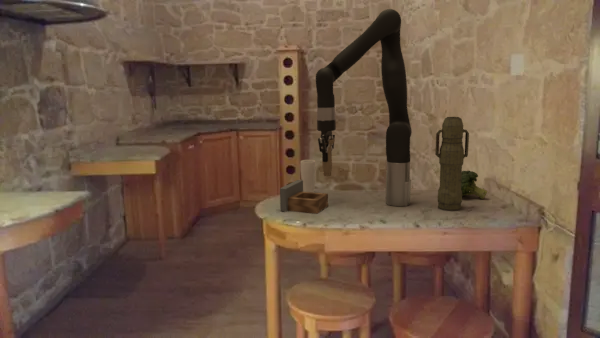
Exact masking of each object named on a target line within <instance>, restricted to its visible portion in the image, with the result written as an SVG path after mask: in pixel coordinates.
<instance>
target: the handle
mask: <svg viewBox="0 0 600 338" xmlns="http://www.w3.org/2000/svg"><path fill="white" fill-rule="evenodd" d="M335 139H336V138H335ZM335 139H330V140H329V144H330V145H329V147H328V162H323V161H322V160H321V161H322V172H323V173H322V175H323V176H324V177H331V176H332V171H333V155H332V156H331V145H332V144H333V143H334V144H335V142H336V141H335ZM327 142H328V140H327ZM325 144H326V145H327V143H325Z"/></svg>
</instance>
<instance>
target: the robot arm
mask: <svg viewBox="0 0 600 338" xmlns="http://www.w3.org/2000/svg"><path fill="white" fill-rule="evenodd" d="M401 25H402V18H401V15H400V13H399V12H398V11H397V10H395V9H392V8H388V9H384V10H382V11H381V12H380V13H379V14H378V16H377V17H376V18H375V19H374V20H373V22H372V23H371V24H370V25H369V27H367V28H366V30H364V32H362V34H360V35H359V36H358V37H357V38H356V39H355V40H354V41H352V42H351V43H350V44H348V45H347V46H346V47H345V48H344V49H342V51H340V52H339V53H338V54H337V55H335V57H334V58H333V59H332V61H330V62H329V63H328V64H327V65H326V66H325V67H322V68H320V69H318V70H317V72H316V74H315V89H316V95H317V96H316V97H317V98H316V103H317V104H316V130H317V132H320V137H318V139H317V143H318V148H319V152H320V153H322V154H321V155H322V156H321V158H322V159H321V161H323V162H328V147H329V145H330V144H329V140H330V139H336V137H335V136H336V135H335V134H333V132H334V131H336V130H337V129H336V128H337V126H336V125H337V122H336V121H337V119H336V104H335V101H336V100H335V98H336V97H335V93H334V83H335V82H336V81H337V80H338V79H339V78H340V77H341V76H342V75H343V74H345V72H347V71H348V70H349V69H351V68H352V67H353V66H354V65H356V63H357V62H359V61H360V60H361V59H362V57H364V55H366V54H367V52H369V50H371V48H373V47H374V46H375V45H376V44H378V42H380V45H381V46H380V47H381V66H380V68H381V83H382V89H383V94H384V98H385V101H386V104H387V107H388V108H387V109H388V127H387V128H386V132H385V156H386V171H385V173H386V175H385V176H386V178H385V180H386V181H385V182H386V183H385V204H386V205H388V206H393V207H404V206H405V207H407V206H409V205H410V203H411V194H412V193H411V191H412V189H411V187H412V186H411V185H412V179H411V137H412V133H413V132H412V126H411V122H410V117H409V111H408V86H407V85H408V83H407V73H406V72H407V71H406V66H405V65H406V64H405V60H404V56H403V53H402V46H401V28H402V27H401ZM327 140H328V142H327ZM325 143H327V145H326V144H325ZM333 149H335V142H334V143H333V144H332V145H331V156H332V157H333V155H332V154H333V152H332V151H333Z"/></svg>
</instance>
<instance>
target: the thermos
mask: <svg viewBox="0 0 600 338" xmlns="http://www.w3.org/2000/svg"><path fill="white" fill-rule="evenodd" d="M464 133H465V134H464ZM440 134H441V138H442V139H441V145H440ZM464 135H465V136H464ZM463 137H465V140H464V142H463ZM469 139H470V133H469V131H468V129H465V128H464V123H463V120H462V118H461V117H459V116H447V117H445V118H444V120H443V122H442V125H441V129H438V130H437V132H436V133H435V156H436V157H437V158H438V161H439V162H438V163H439V166H440V167H439V188H438V190H437V204H438V205H437V209H438V210H440V211H446V212H455V211H456V212H457V211H461V210H462V203H463V197H462V190H461V176H462V171H463V169H462V168H463V165H464V159H465V158H468V155H469V144H470V143H469V142H470V141H469ZM463 143H464V146H463Z"/></svg>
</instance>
